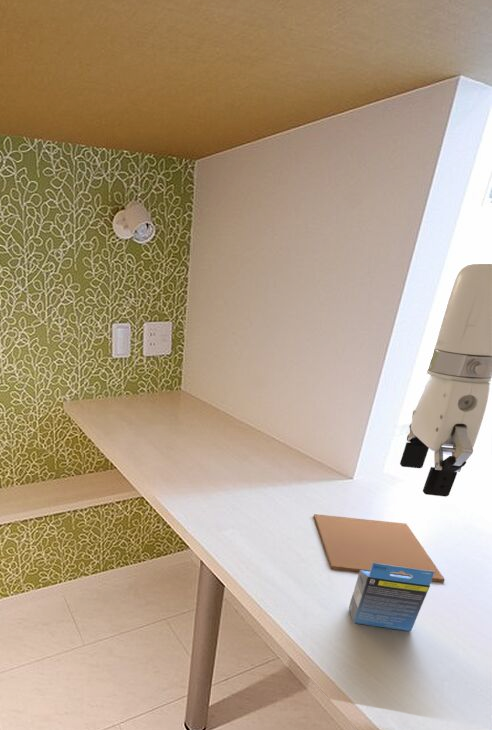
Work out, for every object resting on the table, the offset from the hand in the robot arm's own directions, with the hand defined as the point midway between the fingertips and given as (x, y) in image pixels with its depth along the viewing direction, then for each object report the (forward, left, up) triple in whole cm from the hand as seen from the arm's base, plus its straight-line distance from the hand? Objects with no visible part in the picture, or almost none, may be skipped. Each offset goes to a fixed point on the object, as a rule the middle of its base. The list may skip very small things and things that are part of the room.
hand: (422, 479), depth 65 cm
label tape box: (+2, +5, -24) cm, 25 cm away
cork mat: (-3, -18, -24) cm, 30 cm away
